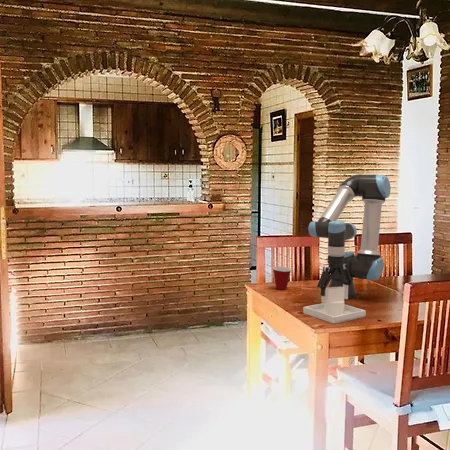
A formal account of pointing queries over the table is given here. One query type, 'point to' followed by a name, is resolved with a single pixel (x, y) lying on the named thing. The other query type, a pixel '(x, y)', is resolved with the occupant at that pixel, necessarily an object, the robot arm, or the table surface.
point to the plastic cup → (281, 277)
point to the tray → (348, 315)
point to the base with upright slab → (334, 301)
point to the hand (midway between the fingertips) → (334, 300)
